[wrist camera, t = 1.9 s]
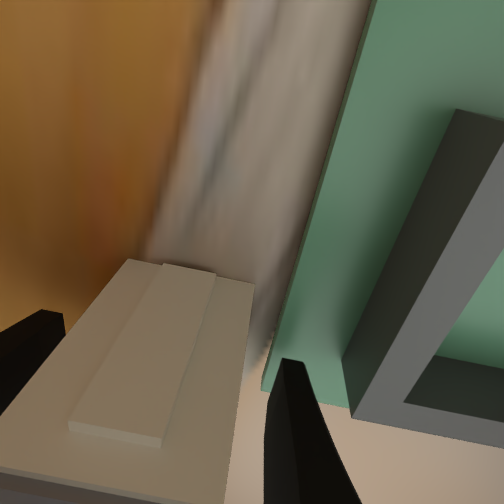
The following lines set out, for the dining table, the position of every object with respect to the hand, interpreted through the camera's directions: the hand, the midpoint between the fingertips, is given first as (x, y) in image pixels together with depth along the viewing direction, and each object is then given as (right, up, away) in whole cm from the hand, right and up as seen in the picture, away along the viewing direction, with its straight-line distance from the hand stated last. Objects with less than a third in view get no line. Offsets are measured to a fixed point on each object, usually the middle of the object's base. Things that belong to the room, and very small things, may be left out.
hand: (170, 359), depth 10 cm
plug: (0, +1, +2) cm, 2 cm away
